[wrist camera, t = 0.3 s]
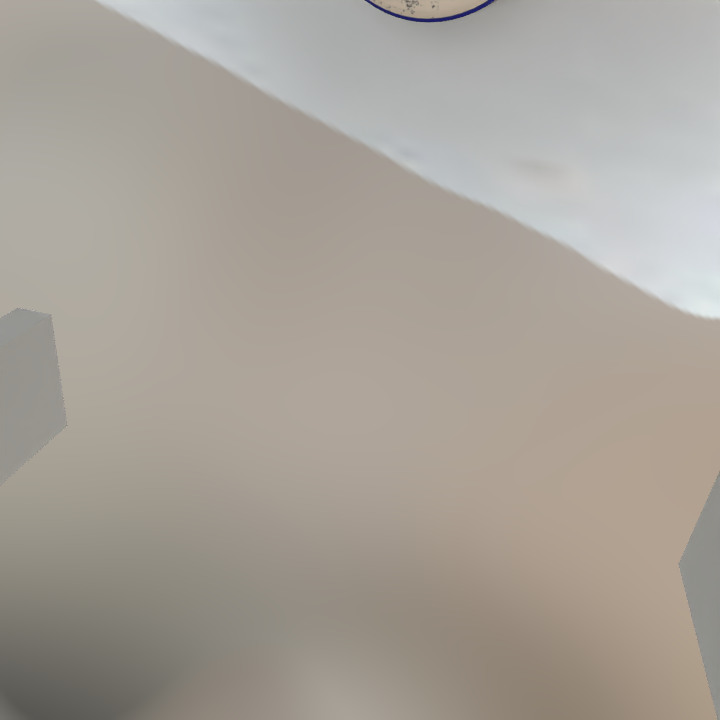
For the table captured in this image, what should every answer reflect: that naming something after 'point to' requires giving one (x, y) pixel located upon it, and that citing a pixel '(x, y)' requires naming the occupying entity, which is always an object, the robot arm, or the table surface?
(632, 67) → the table surface
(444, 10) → the teacup with lid
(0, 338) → the robot arm
